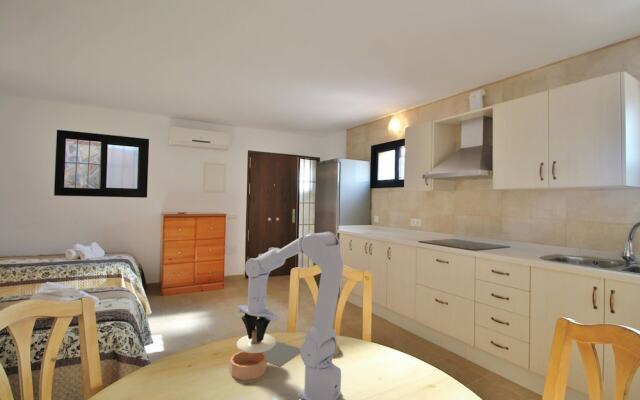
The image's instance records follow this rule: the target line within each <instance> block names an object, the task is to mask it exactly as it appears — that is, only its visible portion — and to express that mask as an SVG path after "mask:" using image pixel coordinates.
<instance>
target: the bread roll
mask: <svg viewBox="0 0 640 400" xmlns="http://www.w3.org/2000/svg"><path fill="white" fill-rule="evenodd" d="M340 352H341V348H340V346H339V344H338V343H337V350H336V352H335V353H334V354H333V357H337V356H338V355H339V354H340Z"/></svg>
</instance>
